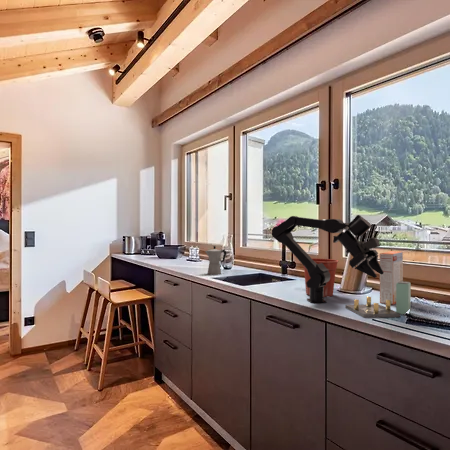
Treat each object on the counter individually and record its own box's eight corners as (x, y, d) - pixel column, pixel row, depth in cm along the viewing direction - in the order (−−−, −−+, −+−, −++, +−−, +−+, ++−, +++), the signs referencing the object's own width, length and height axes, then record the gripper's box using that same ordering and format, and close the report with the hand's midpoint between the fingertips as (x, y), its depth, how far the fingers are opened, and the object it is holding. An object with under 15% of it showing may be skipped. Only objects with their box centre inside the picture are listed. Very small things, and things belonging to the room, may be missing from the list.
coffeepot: (208, 275, 233) (208, 246, 233) (202, 273, 241) (202, 245, 241) (229, 273, 240) (229, 246, 240) (222, 272, 249) (223, 245, 249)
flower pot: (337, 292, 177) (338, 258, 177) (338, 299, 161) (339, 262, 161) (302, 290, 181) (302, 257, 181) (300, 296, 165) (300, 260, 165)
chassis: (345, 307, 144) (345, 295, 144) (378, 307, 145) (378, 295, 145) (363, 317, 129) (363, 304, 129) (400, 316, 130) (400, 303, 130)
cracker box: (388, 298, 164) (389, 250, 164) (403, 299, 160) (403, 251, 160) (378, 303, 153) (378, 252, 153) (393, 305, 149) (394, 253, 149)
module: (396, 313, 135) (396, 282, 135) (398, 310, 139) (398, 281, 139) (408, 315, 133) (408, 283, 133) (410, 312, 137) (410, 282, 137)
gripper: (359, 231, 135) (389, 265, 129) (373, 229, 150) (402, 259, 144) (337, 251, 141) (365, 284, 135) (353, 247, 156) (380, 276, 149)
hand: (379, 275), depth 141 cm, fingers open, 9 cm apart
